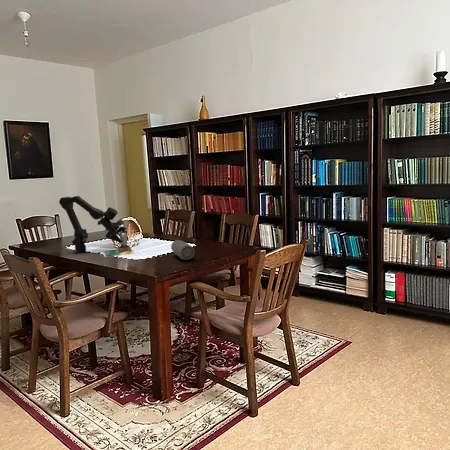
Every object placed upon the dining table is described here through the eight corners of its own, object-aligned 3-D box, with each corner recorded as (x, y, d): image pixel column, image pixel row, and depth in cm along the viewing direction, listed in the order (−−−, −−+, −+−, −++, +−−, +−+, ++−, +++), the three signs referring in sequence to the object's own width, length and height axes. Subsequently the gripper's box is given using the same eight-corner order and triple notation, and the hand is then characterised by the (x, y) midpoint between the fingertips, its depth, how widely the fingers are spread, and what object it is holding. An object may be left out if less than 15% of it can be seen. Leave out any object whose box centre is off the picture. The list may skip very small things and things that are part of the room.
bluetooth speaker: (170, 255, 267) (169, 239, 266) (185, 253, 271) (184, 238, 269) (180, 262, 246) (179, 245, 245) (195, 260, 250) (194, 243, 248)
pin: (121, 251, 282) (120, 233, 280) (120, 250, 286) (119, 232, 284) (128, 250, 283) (126, 233, 282) (127, 249, 287) (125, 232, 286)
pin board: (105, 258, 267) (104, 253, 267) (101, 253, 284) (101, 248, 283) (135, 255, 274) (135, 249, 274) (130, 250, 291) (130, 245, 290)
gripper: (108, 217, 273) (125, 234, 272) (122, 214, 291) (138, 230, 290) (98, 230, 276) (115, 247, 275) (112, 226, 294) (128, 241, 293)
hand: (124, 241), depth 283 cm, fingers open, 9 cm apart
